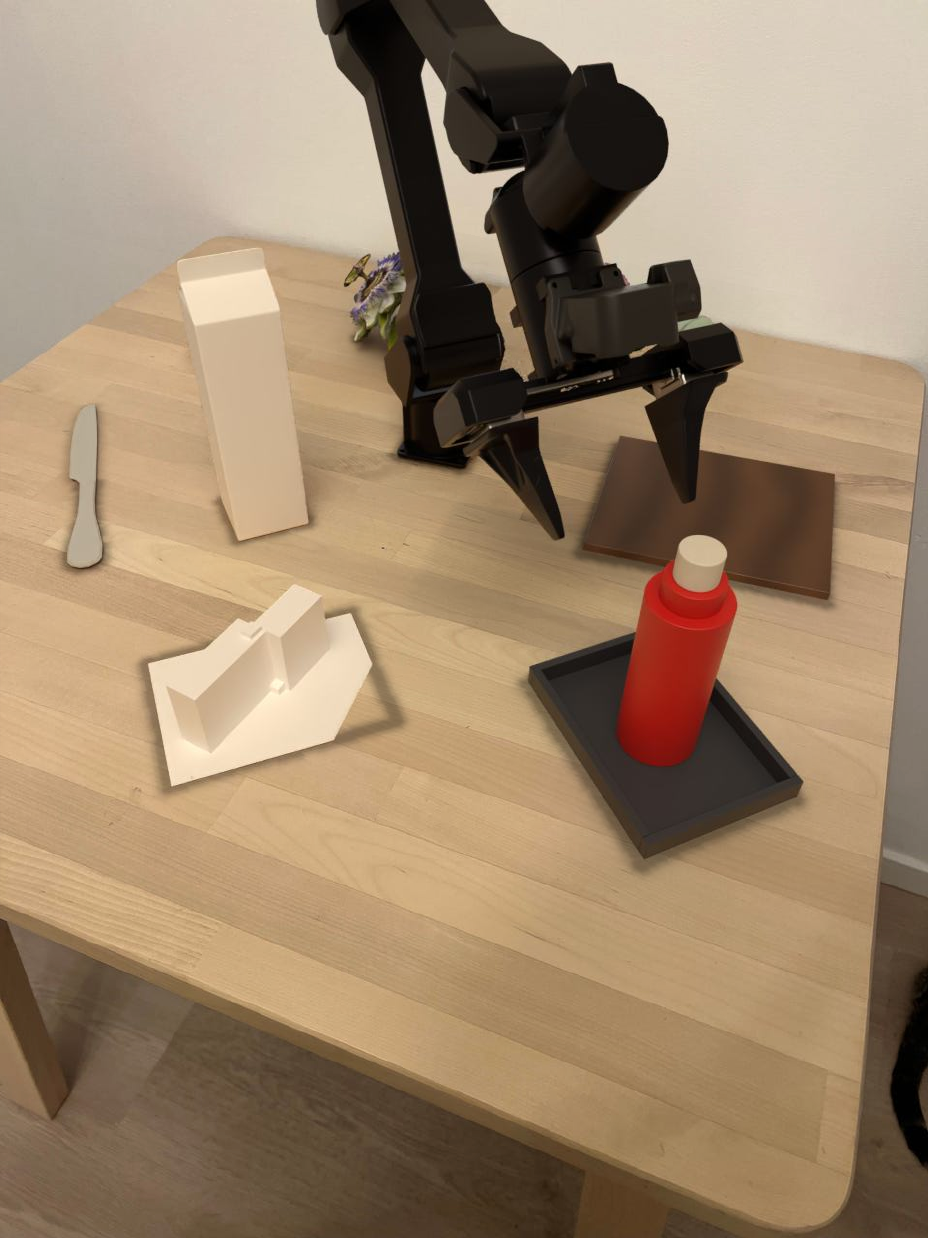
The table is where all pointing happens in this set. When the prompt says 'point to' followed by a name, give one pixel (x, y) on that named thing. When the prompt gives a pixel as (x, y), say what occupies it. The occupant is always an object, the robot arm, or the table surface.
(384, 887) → the table surface
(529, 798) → the table surface
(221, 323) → the milk
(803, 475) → the serving board
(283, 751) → the white building model
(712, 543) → the ketchup
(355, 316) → the passion flower
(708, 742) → the baking tray
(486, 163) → the robot arm
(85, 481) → the butter knife
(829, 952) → the table surface
